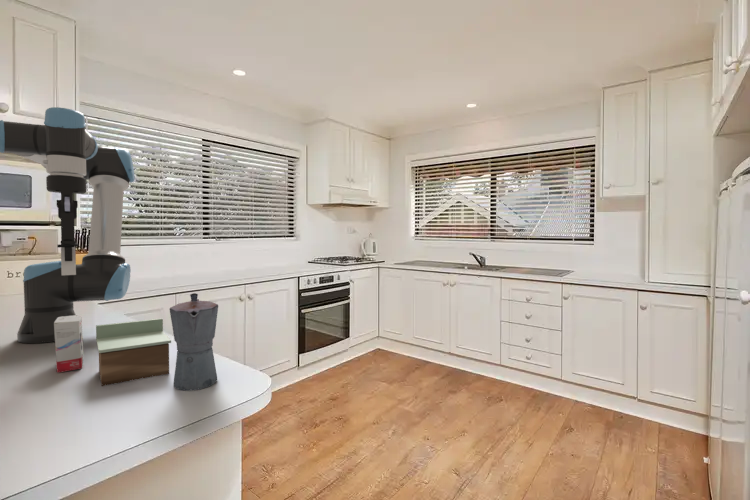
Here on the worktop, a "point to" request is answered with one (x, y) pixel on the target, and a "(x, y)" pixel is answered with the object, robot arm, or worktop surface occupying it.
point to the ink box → (68, 343)
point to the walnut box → (133, 364)
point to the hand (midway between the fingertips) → (68, 273)
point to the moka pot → (194, 343)
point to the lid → (130, 335)
